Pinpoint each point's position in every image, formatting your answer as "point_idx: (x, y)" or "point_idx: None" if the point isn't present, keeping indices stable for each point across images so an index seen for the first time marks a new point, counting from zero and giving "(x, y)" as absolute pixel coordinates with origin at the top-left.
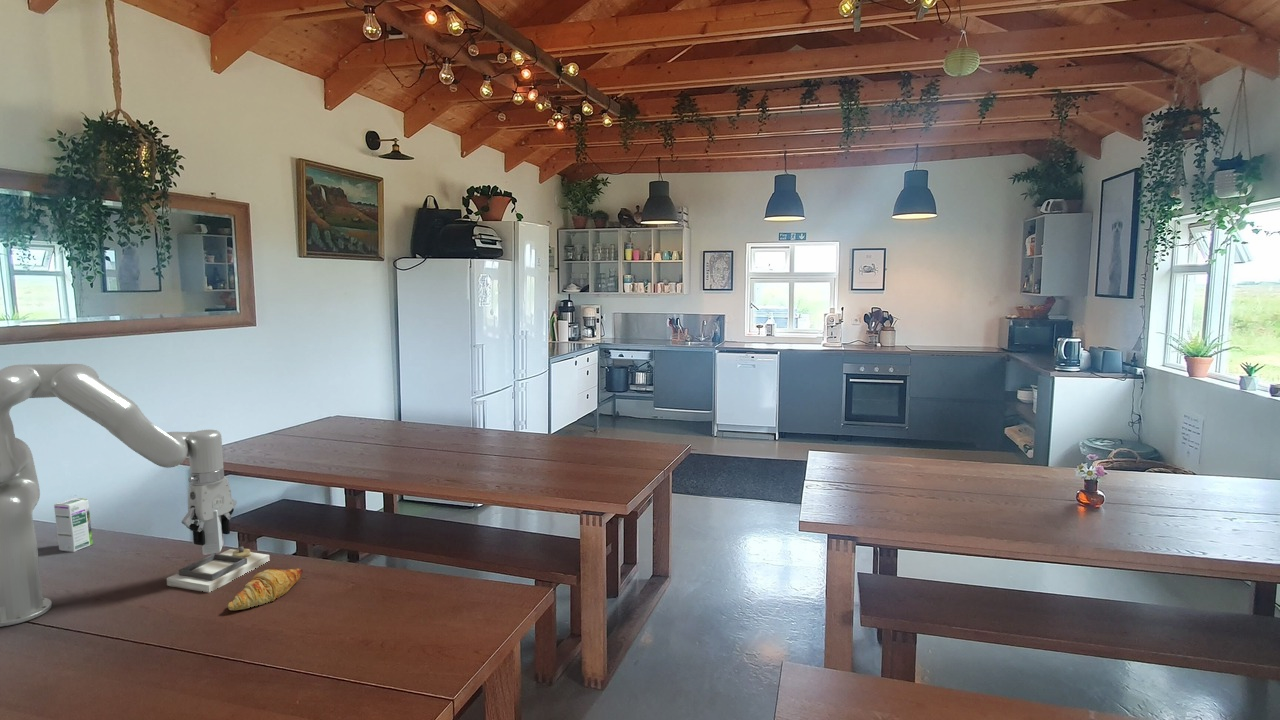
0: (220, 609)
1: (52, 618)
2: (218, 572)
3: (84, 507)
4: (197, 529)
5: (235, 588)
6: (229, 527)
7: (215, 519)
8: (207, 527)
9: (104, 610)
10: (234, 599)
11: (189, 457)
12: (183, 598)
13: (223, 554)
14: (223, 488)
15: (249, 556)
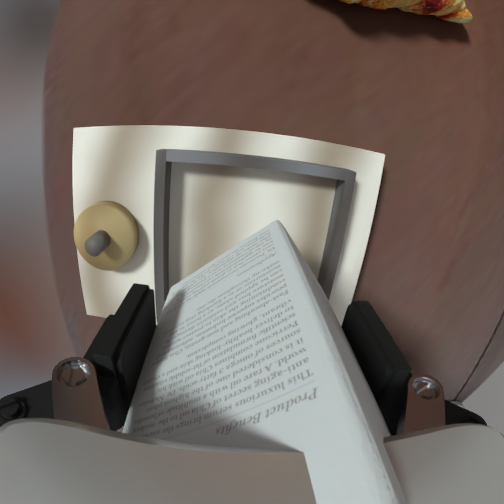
0: (448, 53)
1: (454, 383)
2: (323, 167)
3: None
4: (438, 395)
5: (327, 79)
6: (118, 308)
7: (368, 411)
8: (365, 385)
9: (447, 339)
10: (461, 5)
11: None
12: (411, 209)
13: None
14: None
15: (104, 195)
